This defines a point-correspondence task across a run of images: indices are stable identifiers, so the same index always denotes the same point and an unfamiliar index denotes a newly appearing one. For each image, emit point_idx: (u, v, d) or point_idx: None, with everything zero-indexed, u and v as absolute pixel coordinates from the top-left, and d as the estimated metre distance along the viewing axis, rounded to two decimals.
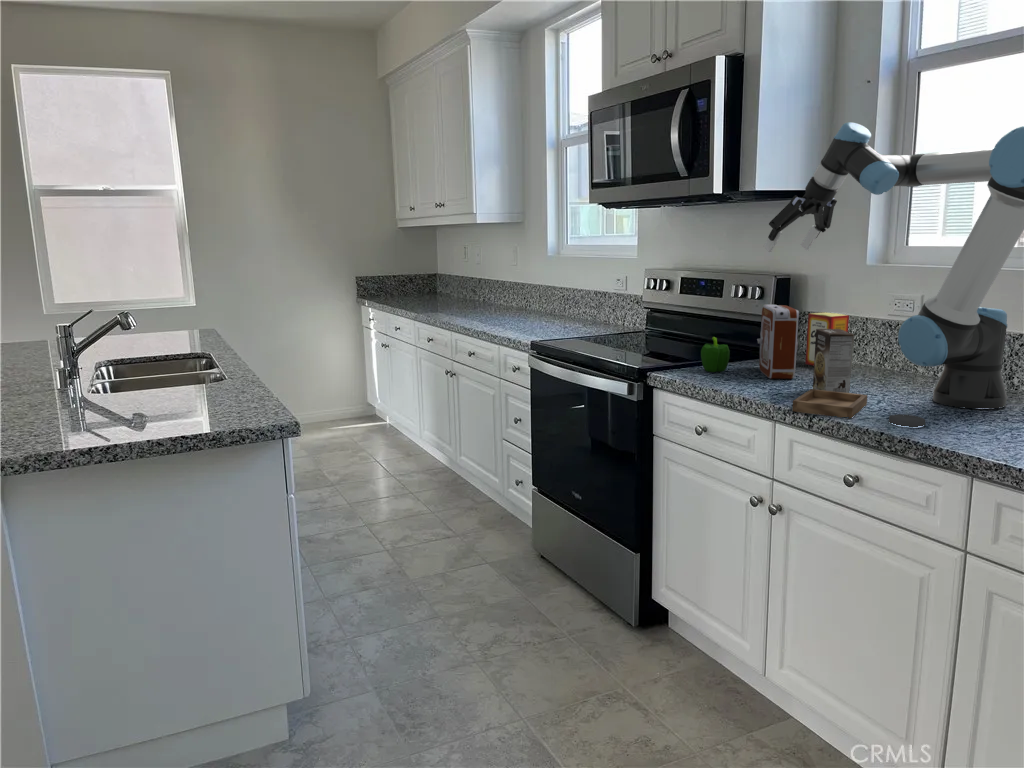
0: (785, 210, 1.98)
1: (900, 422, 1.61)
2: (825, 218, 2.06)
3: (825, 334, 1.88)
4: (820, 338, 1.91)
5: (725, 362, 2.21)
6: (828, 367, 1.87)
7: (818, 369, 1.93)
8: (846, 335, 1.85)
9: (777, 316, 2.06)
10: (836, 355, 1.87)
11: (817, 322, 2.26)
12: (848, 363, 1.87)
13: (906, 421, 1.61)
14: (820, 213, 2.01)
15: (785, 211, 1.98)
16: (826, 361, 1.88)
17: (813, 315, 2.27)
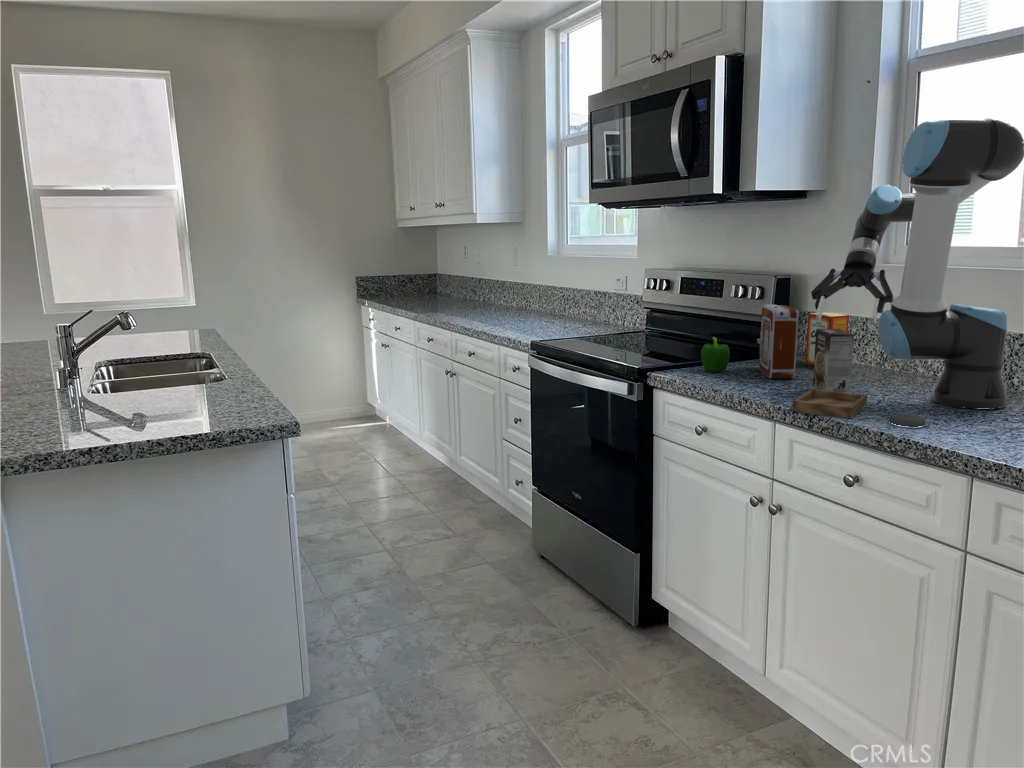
0: None
1: (900, 422, 1.61)
2: (884, 291, 1.97)
3: (825, 334, 1.88)
4: (820, 338, 1.91)
5: (725, 362, 2.21)
6: (828, 367, 1.87)
7: (818, 369, 1.93)
8: (846, 335, 1.85)
9: (777, 316, 2.06)
10: (836, 355, 1.87)
11: (817, 322, 2.26)
12: (848, 363, 1.87)
13: (906, 421, 1.61)
14: (865, 278, 2.00)
15: None
16: (826, 361, 1.88)
17: (813, 315, 2.27)
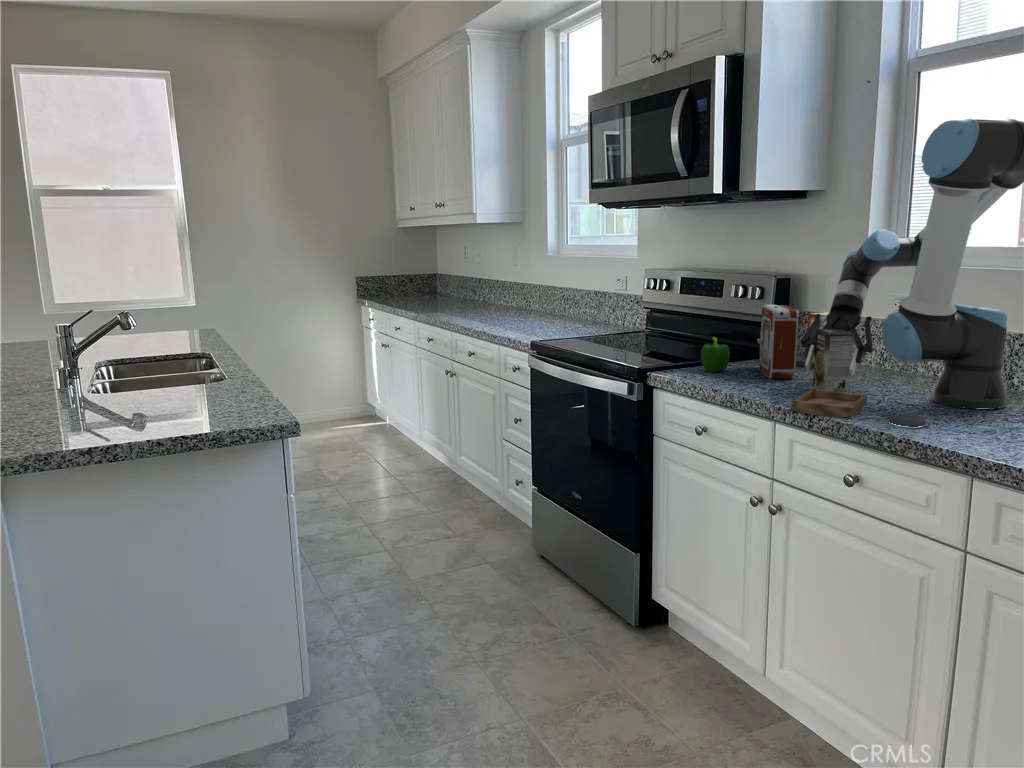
0: None
1: (899, 422, 1.61)
2: (866, 339, 1.89)
3: (825, 334, 1.88)
4: (820, 337, 1.91)
5: (725, 362, 2.21)
6: (828, 367, 1.87)
7: (818, 369, 1.93)
8: (846, 335, 1.85)
9: (777, 316, 2.06)
10: (835, 355, 1.87)
11: None
12: (847, 363, 1.87)
13: (905, 421, 1.61)
14: (850, 324, 1.92)
15: None
16: (825, 361, 1.88)
17: (813, 315, 2.27)
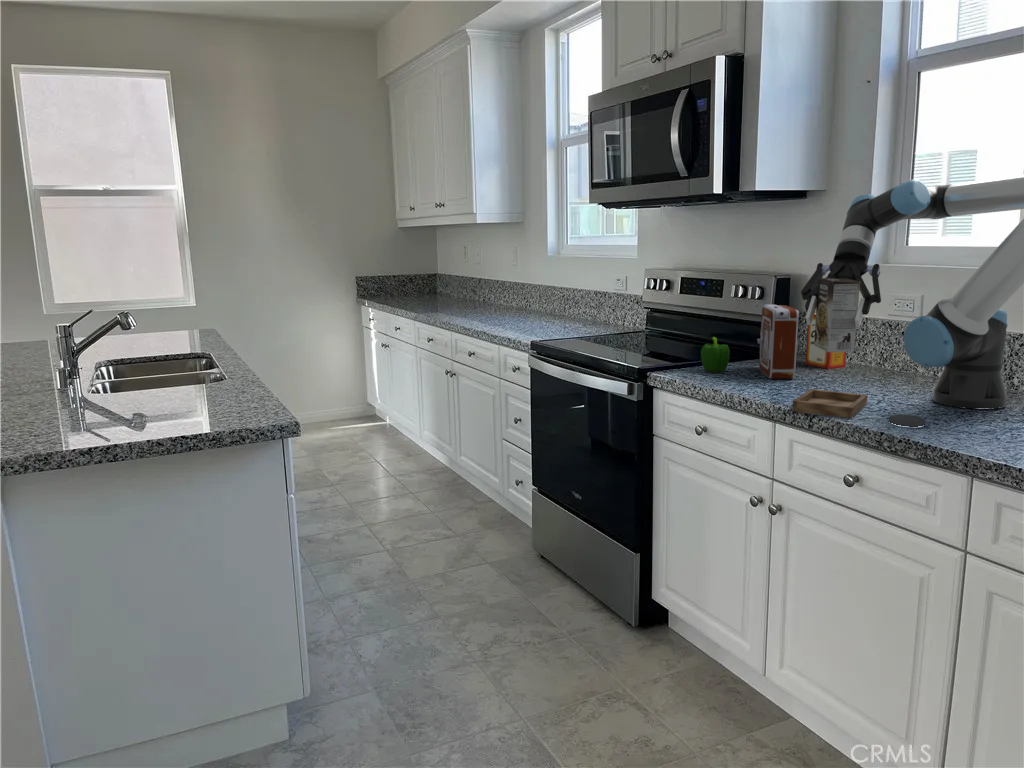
0: None
1: (899, 422, 1.61)
2: None
3: (828, 282, 1.70)
4: (822, 287, 1.73)
5: (725, 362, 2.21)
6: (831, 318, 1.69)
7: (820, 322, 1.75)
8: (851, 282, 1.67)
9: (777, 316, 2.06)
10: (840, 306, 1.68)
11: None
12: (853, 314, 1.69)
13: (905, 421, 1.61)
14: (855, 273, 1.74)
15: None
16: (828, 312, 1.70)
17: None
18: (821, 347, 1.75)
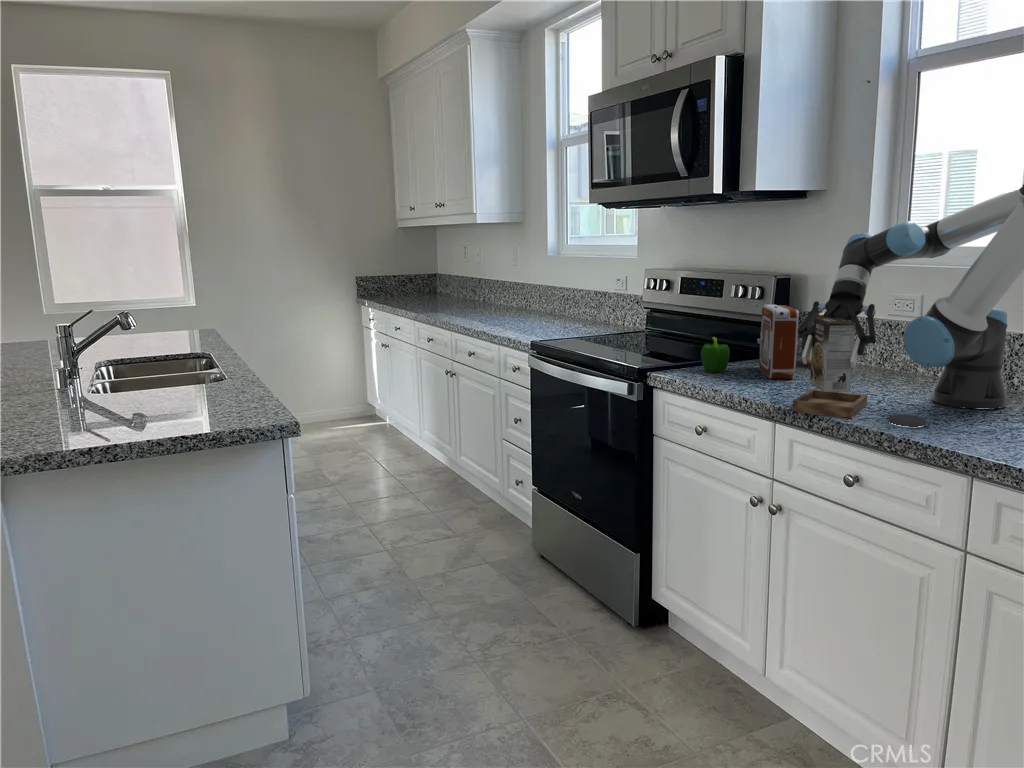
0: None
1: (899, 422, 1.61)
2: None
3: (824, 323, 1.72)
4: (818, 327, 1.75)
5: (725, 362, 2.21)
6: (827, 359, 1.71)
7: (816, 361, 1.77)
8: (847, 324, 1.70)
9: (777, 316, 2.06)
10: (835, 346, 1.71)
11: None
12: (848, 355, 1.71)
13: (905, 421, 1.61)
14: (851, 312, 1.76)
15: None
16: (824, 353, 1.72)
17: None
18: (817, 386, 1.77)
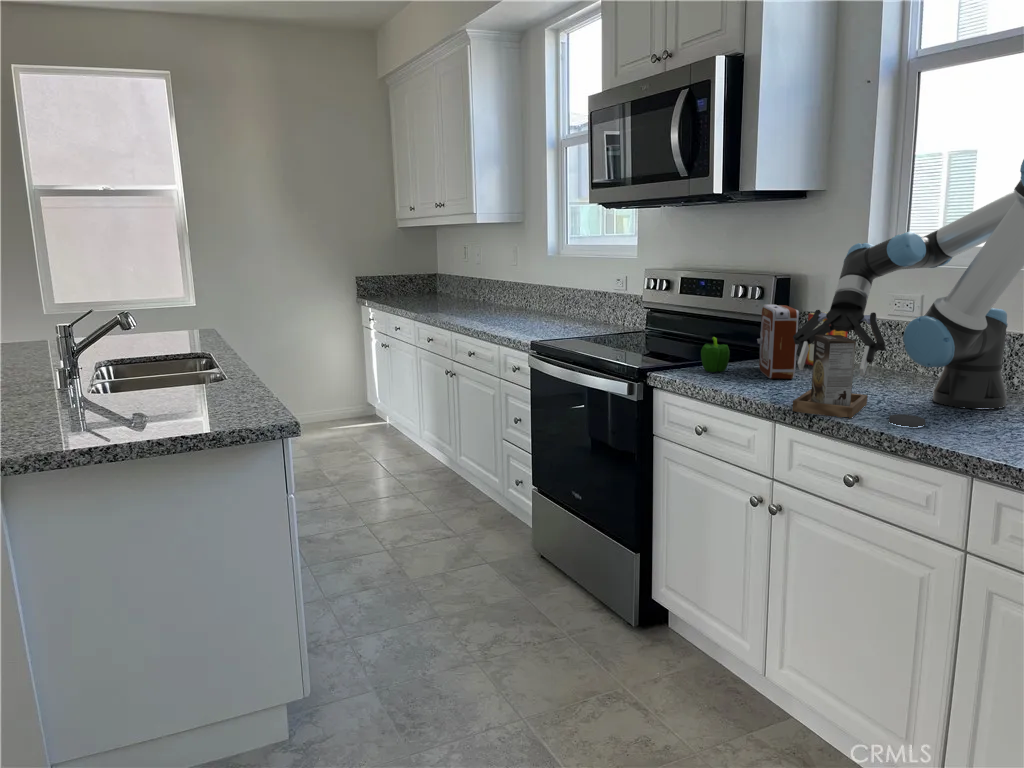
0: None
1: (898, 421, 1.61)
2: (875, 337, 1.73)
3: (824, 341, 1.72)
4: (819, 344, 1.75)
5: (725, 362, 2.21)
6: (827, 376, 1.72)
7: (816, 378, 1.77)
8: (847, 342, 1.70)
9: (777, 316, 2.06)
10: (836, 364, 1.71)
11: None
12: (849, 372, 1.72)
13: (905, 421, 1.61)
14: (854, 322, 1.76)
15: None
16: (825, 370, 1.72)
17: None
18: None
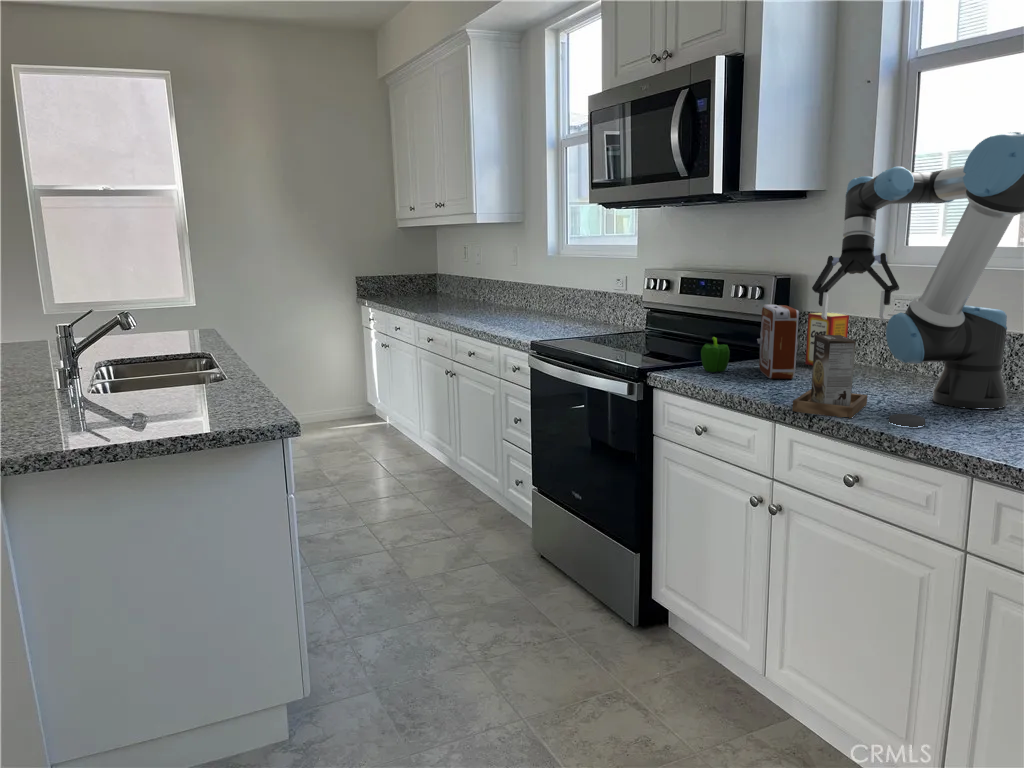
0: None
1: (897, 421, 1.61)
2: (889, 278, 1.88)
3: (824, 341, 1.72)
4: (819, 344, 1.75)
5: (725, 362, 2.21)
6: (827, 377, 1.72)
7: (816, 378, 1.77)
8: (847, 342, 1.70)
9: (777, 316, 2.06)
10: (835, 364, 1.71)
11: (817, 322, 2.26)
12: (848, 372, 1.72)
13: (903, 421, 1.61)
14: (866, 267, 1.90)
15: None
16: (824, 370, 1.72)
17: (813, 315, 2.27)
18: None
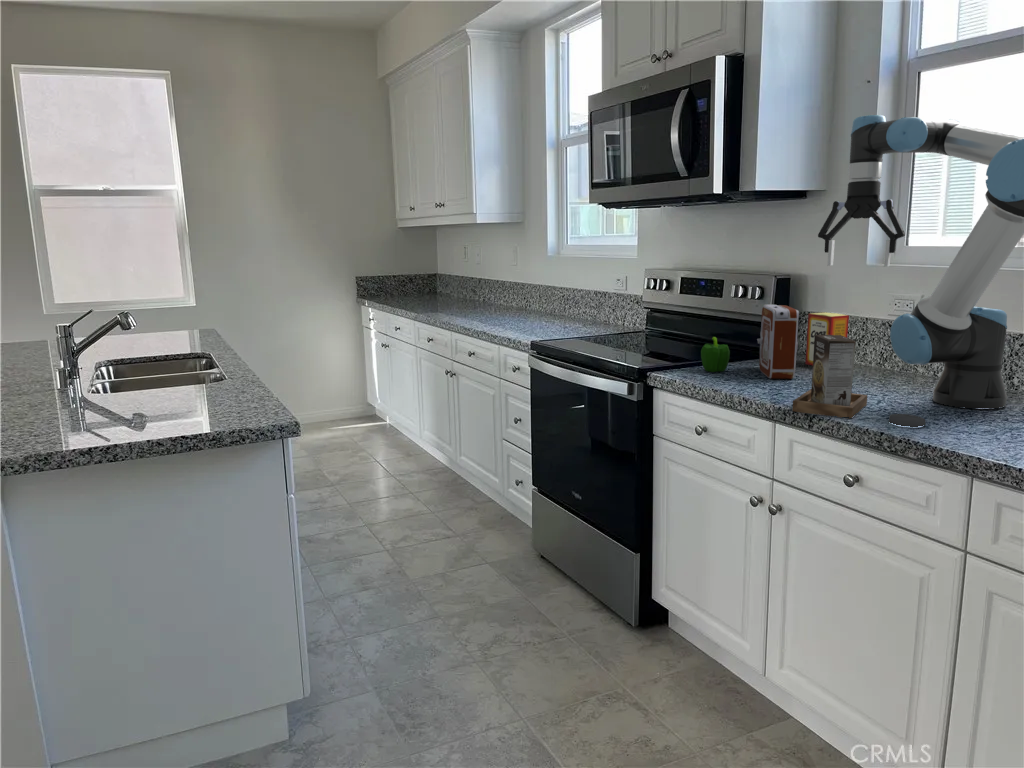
0: None
1: (895, 420, 1.62)
2: None
3: (824, 341, 1.72)
4: (819, 344, 1.75)
5: (725, 362, 2.21)
6: (827, 377, 1.72)
7: (816, 378, 1.77)
8: (847, 342, 1.70)
9: (777, 316, 2.06)
10: (835, 364, 1.71)
11: (817, 322, 2.26)
12: (848, 372, 1.72)
13: (902, 420, 1.61)
14: (872, 215, 1.88)
15: None
16: (824, 370, 1.72)
17: (813, 315, 2.27)
18: None
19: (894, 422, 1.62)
